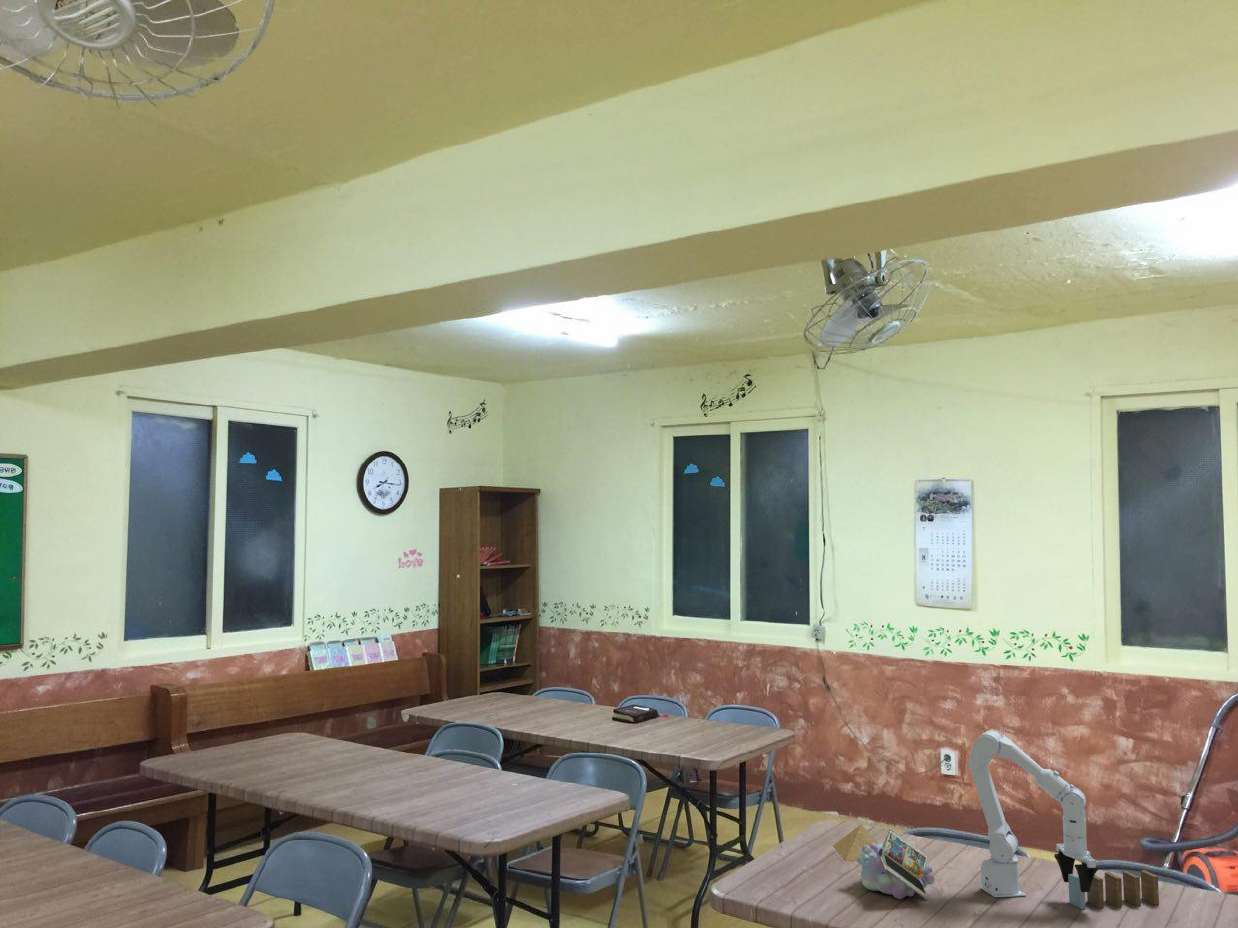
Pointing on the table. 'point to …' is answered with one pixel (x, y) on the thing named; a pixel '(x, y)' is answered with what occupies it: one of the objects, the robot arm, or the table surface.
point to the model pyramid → (853, 844)
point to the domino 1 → (1076, 892)
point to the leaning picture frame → (895, 867)
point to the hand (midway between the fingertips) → (1076, 886)
